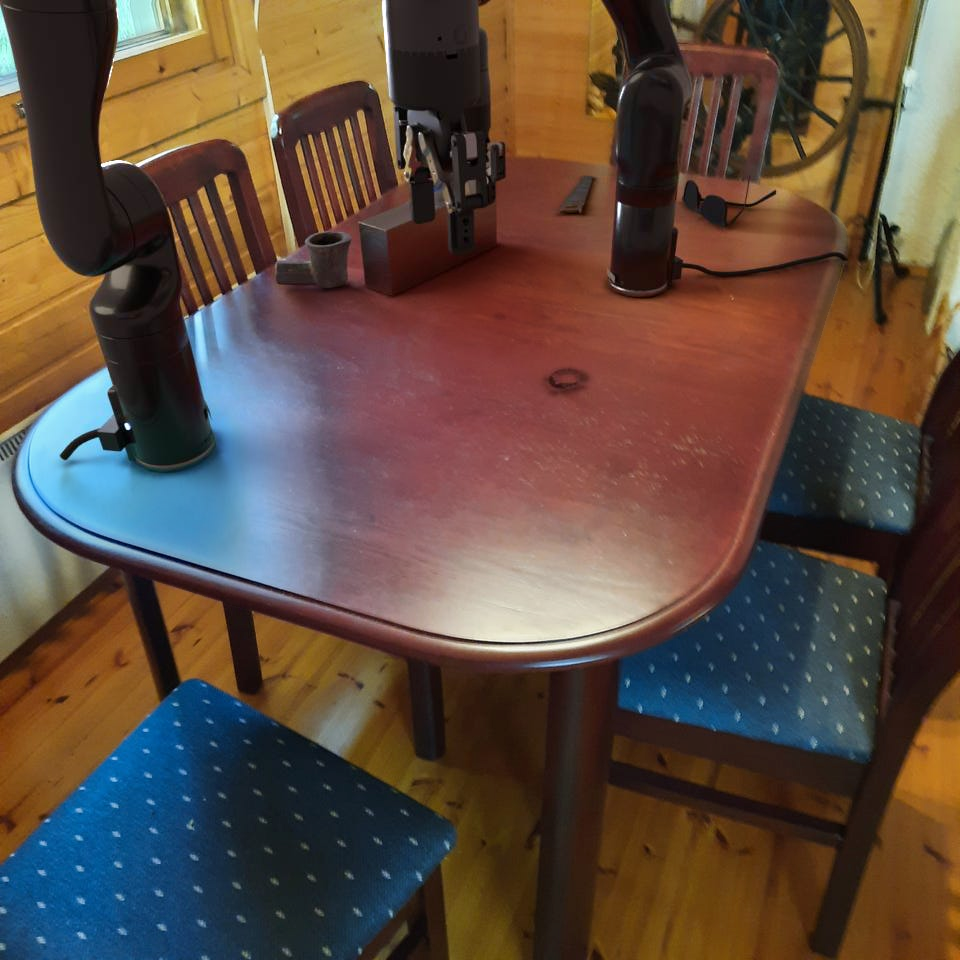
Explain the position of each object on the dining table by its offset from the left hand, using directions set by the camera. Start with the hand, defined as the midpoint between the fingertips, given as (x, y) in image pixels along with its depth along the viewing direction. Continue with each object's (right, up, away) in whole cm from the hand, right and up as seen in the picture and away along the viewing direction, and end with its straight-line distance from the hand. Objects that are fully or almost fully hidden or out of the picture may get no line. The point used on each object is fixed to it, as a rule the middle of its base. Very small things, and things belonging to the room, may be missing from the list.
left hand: (442, 236), depth 78 cm
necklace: (+15, -9, +37) cm, 41 cm away
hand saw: (+24, +36, +96) cm, 106 cm away
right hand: (+2, +27, +71) cm, 76 cm away
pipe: (-23, +10, +63) cm, 68 cm away
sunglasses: (+52, +30, +87) cm, 106 cm away
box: (-4, +15, +70) cm, 71 cm away
